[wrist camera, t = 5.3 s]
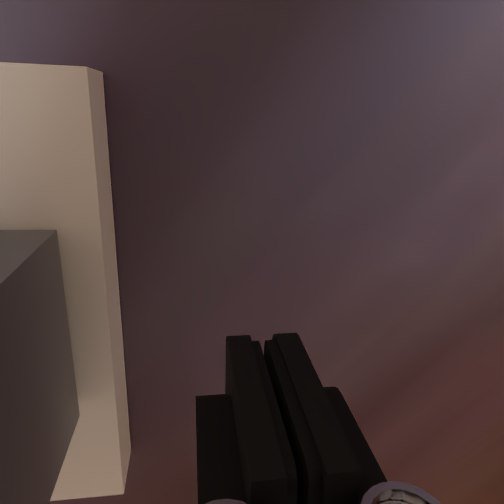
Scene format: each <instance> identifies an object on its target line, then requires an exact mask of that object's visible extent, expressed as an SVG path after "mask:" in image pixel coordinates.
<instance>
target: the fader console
mask: <svg viewBox="0 0 504 504" xmlns="http://www.w3.org/2000/svg"><path fill="white" fill-rule="evenodd" d="M0 230H57V236H58V244H59V252H60V260H61V268H62V276H63V284H64V292H65V300H66V308H67V316H68V324H69V332H70V341H71V349H72V357H73V365H74V373H75V381H76V389H77V397H78V405H79V413H80V416H79V419H78V422H77V425H76V427H75V430H74V433H73V436H72V439H71V442H70V445H69V448H68V450H67V453H66V456H65V459H64V462H63V465H62V468H61V470H60V473H59V476H58V479H57V482H56V485H55V488H54V490H53V493H52V496H51V499H50V501H56V500H67V499H78V498H88V497H99V496H110V495H121V494H124V490H125V484H126V478H127V472H128V466H129V460H130V454H131V442H130V429H129V416H128V402H127V389H126V376H125V362H124V349H123V336H122V322H121V309H120V296H119V283H118V269H117V256H116V243H115V229H114V216H113V203H112V189H111V176H110V163H109V150H108V136H107V123H106V110H105V96H104V83H103V72H101V71H98V70H95V69H92V68H89V67H85V66H66V65H47V64H27V63H8V62H0Z"/></svg>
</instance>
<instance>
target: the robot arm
mask: <svg viewBox="0 0 504 504" xmlns="http://www.w3.org/2000/svg"><path fill="white" fill-rule="evenodd" d="M196 433H197V479H198V504H440V503H439V502H438V501H437V500H436V499H435V498H434V497H432V496H431V495H429V494H428V493H427V492H425V491H424V490H422V489H420V488H417V487H415V486H413V485H410V484H408V483H402V482H396V481H391V482H387V480H386V478H385V476H384V474H383V472H382V470H381V468H380V466H379V465H378V463H377V461H376V459H375V457H374V455H373V453H372V451H371V449H370V447H369V445H368V444H367V442H366V440H365V438H364V436H363V434H362V432H361V430H360V428H359V426H358V424H357V423H356V421H355V419H354V417H353V415H352V413H351V411H350V409H349V407H348V405H347V404H346V402H345V400H344V398H343V396H342V394H341V392H340V391H339V389H338V388H336V387H323V386H322V384H321V382H320V380H319V378H318V375H317V373H316V371H315V369H314V367H313V365H312V363H311V361H310V359H309V356H308V354H307V352H306V350H305V348H304V346H303V344H302V342H301V339H300V337H299V335H298V334H297V333H283V334H274V335H273V338H272V340H266V341H265V345H264V356H263V352H262V349H261V345H260V342H259V341H251V337H250V335H242V336H227V337H226V385H225V394H221V395H207V396H196Z"/></svg>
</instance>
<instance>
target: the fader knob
mask: <svg viewBox="0 0 504 504" xmlns="http://www.w3.org/2000/svg"><path fill="white" fill-rule="evenodd" d="M79 416H80V413H79V405H78V397H77V389H76V381H75V373H74V365H73V357H72V349H71V341H70V332H69V324H68V316H67V308H66V300H65V292H64V284H63V276H62V268H61V260H60V252H59V244H58V236H57V230H0V504H49V502H50V499H51V496H52V493H53V490H54V488H55V485H56V482H57V479H58V476H59V473H60V470H61V468H62V465H63V462H64V459H65V456H66V453H67V450H68V448H69V445H70V442H71V439H72V436H73V433H74V430H75V427H76V425H77V422H78V419H79Z"/></svg>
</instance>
